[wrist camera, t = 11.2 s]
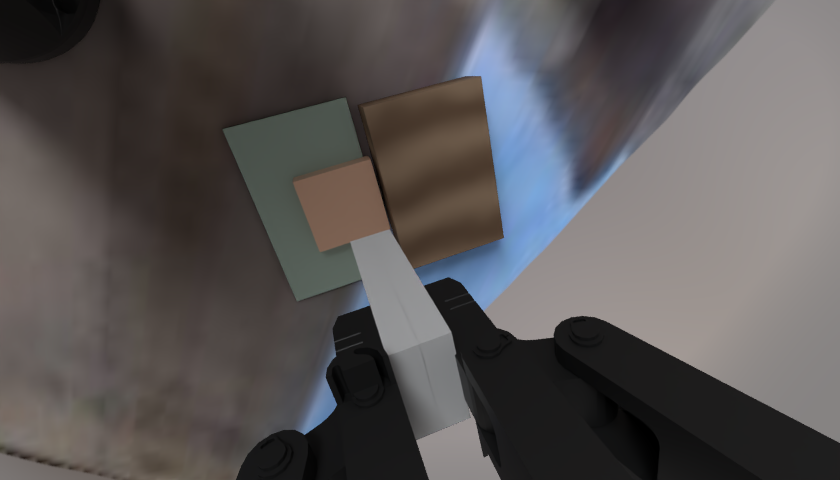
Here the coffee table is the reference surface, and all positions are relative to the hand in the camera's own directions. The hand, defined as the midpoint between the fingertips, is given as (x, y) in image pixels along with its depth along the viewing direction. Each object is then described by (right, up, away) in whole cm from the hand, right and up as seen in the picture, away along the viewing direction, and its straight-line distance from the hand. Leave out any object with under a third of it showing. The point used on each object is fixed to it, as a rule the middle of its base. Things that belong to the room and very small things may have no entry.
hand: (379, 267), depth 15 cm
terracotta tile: (-7, +5, +28) cm, 29 cm away
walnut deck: (+3, +9, +30) cm, 32 cm away
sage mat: (-9, +5, +28) cm, 30 cm away
